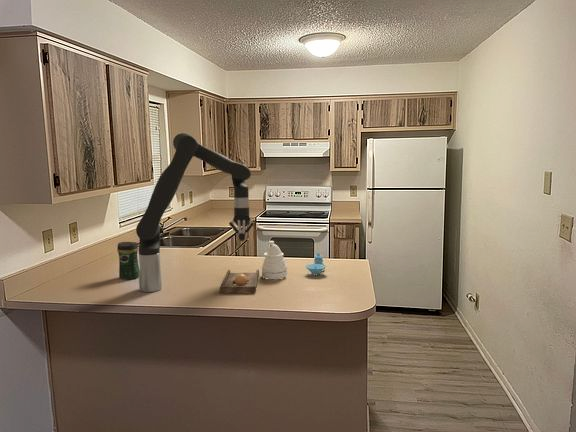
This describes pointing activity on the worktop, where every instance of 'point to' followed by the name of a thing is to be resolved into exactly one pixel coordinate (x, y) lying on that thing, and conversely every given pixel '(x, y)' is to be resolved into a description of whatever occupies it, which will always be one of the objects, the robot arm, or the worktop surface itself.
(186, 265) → the worktop surface
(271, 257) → the honey pot
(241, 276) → the ball
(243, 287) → the track
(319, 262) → the light blue flared piece
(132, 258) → the coffee jar
